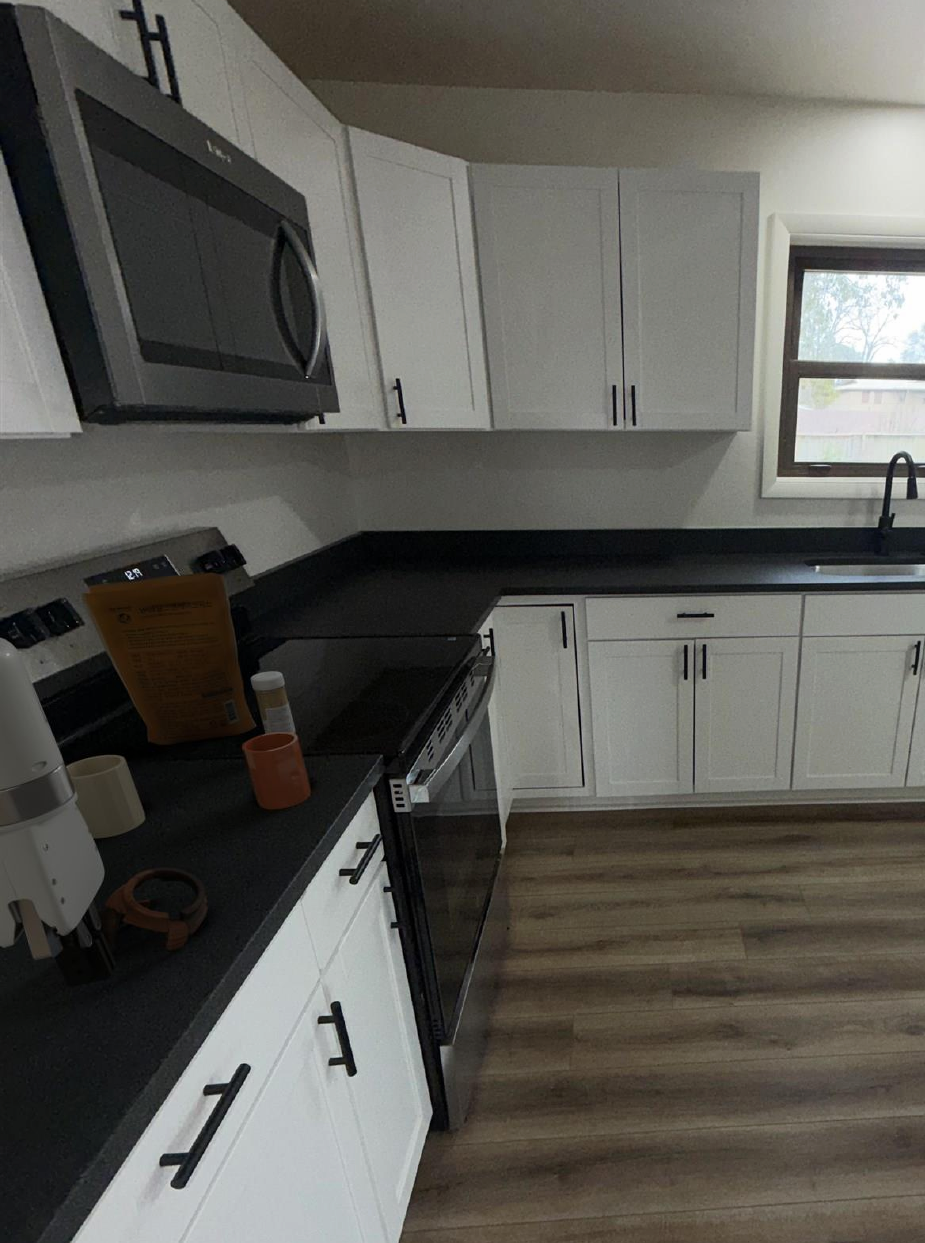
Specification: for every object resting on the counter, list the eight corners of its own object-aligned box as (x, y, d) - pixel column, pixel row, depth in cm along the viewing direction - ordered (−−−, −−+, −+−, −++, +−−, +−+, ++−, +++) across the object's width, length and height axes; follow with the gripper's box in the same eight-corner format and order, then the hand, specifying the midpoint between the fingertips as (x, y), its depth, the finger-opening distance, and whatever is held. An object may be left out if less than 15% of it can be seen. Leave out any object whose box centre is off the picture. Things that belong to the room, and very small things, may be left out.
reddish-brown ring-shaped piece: (168, 902, 85) (186, 850, 82) (212, 958, 82) (233, 907, 79) (41, 939, 74) (56, 881, 71) (87, 1005, 71) (105, 948, 68)
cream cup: (75, 842, 96) (50, 782, 92) (92, 817, 102) (69, 759, 98) (138, 832, 98) (116, 772, 94) (151, 808, 104) (131, 751, 100)
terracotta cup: (254, 813, 103) (238, 755, 99) (261, 791, 109) (245, 736, 105) (309, 804, 105) (295, 747, 101) (312, 783, 111) (299, 729, 107)
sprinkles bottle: (271, 748, 123) (251, 672, 117) (301, 743, 124) (282, 668, 119) (269, 759, 119) (248, 681, 113) (300, 754, 121) (281, 677, 115)
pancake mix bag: (262, 735, 128) (219, 574, 116) (133, 753, 121) (74, 584, 109) (266, 721, 133) (225, 567, 122) (143, 738, 127) (87, 576, 115)
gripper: (-6, 764, 62) (71, 936, 70) (-103, 853, 50) (5, 1051, 57) (99, 750, 65) (162, 918, 72) (32, 831, 52) (118, 1024, 60)
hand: (93, 976), depth 65 cm, fingers closed
